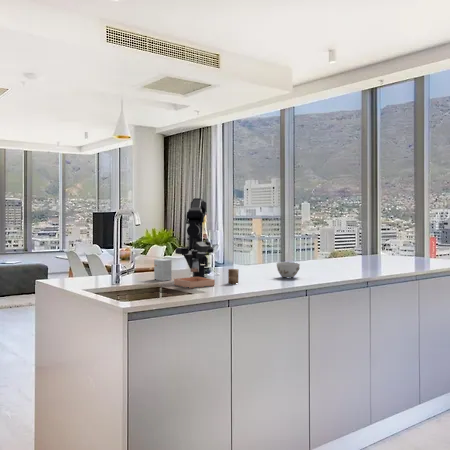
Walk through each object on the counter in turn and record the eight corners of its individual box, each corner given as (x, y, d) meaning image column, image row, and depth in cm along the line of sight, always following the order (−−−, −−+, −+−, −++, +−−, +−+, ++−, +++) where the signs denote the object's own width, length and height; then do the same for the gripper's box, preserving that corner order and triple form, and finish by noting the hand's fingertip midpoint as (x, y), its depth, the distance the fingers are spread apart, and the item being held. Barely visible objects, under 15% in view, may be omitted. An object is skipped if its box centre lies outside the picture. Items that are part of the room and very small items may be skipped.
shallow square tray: (174, 284, 250) (174, 278, 250) (198, 282, 258) (198, 276, 258) (190, 288, 239) (190, 282, 239) (214, 286, 247) (214, 279, 247)
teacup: (287, 279, 273) (287, 264, 272) (271, 277, 283) (271, 262, 282) (307, 277, 281) (307, 263, 281) (291, 275, 292) (291, 261, 291)
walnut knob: (226, 283, 257) (226, 269, 257) (234, 282, 260) (234, 268, 260) (232, 284, 253) (232, 270, 253) (240, 283, 256) (240, 269, 256)
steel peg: (188, 271, 249) (188, 258, 249) (195, 270, 251) (195, 258, 251) (193, 272, 246) (193, 259, 245) (200, 271, 248) (200, 259, 248)
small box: (171, 280, 267) (171, 259, 266) (162, 281, 263) (162, 260, 263) (162, 278, 273) (163, 258, 272) (153, 279, 269) (154, 259, 269)
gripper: (187, 237, 236) (187, 271, 236) (220, 236, 247) (220, 268, 248) (174, 236, 245) (174, 268, 245) (206, 235, 256) (206, 266, 257)
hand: (194, 268), depth 248 cm, fingers closed on steel peg, 4 cm apart
